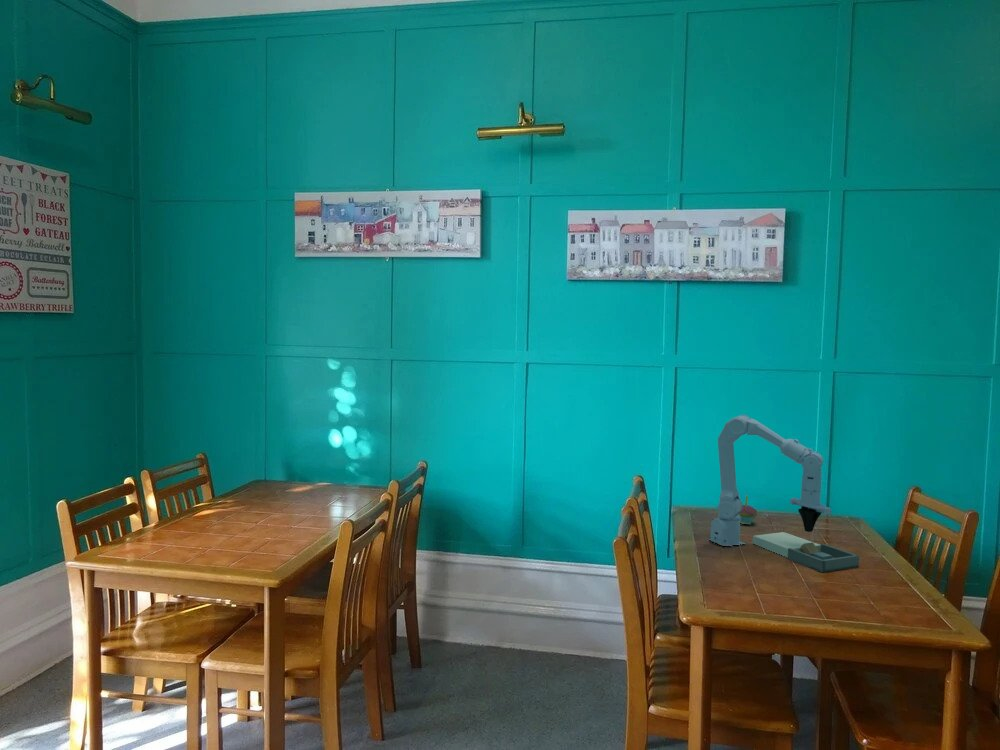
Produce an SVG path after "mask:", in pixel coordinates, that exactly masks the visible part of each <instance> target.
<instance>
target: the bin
mask: <svg viewBox="0 0 1000 750" xmlns="http://www.w3.org/2000/svg"><path fill="white" fill-rule="evenodd" d="M820 545H821V552H823V553H826V554H829V555H832V559H825V560H822V559H819V558H816V557H813V556H811V555H808V554H805V553H803V552H800V551H797V550H795V549H792V548H788V558H787V560H789V561H792V562H794V563H797V564H800V565H803V566H805V567H807V568H810V569H813V570H815V571H817V572H820V573H827V572H834V571H835V572H836V571H840V570H848V569H853V568H859V567H860V565H859V564H860V555H858V554H856V553H852V552H850V551H847V550H843V549H841V548H838V547H835V546H831V545H829V544H825V543H821V544H820Z"/></svg>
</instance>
